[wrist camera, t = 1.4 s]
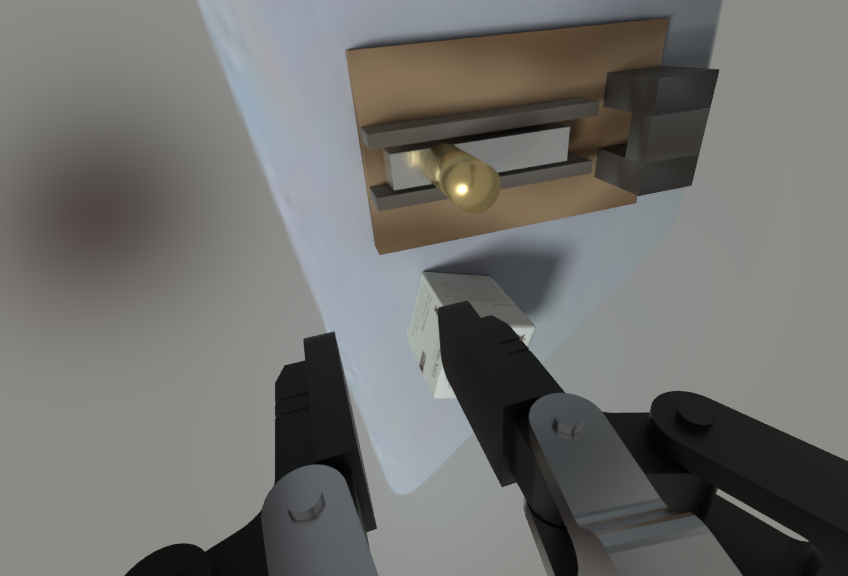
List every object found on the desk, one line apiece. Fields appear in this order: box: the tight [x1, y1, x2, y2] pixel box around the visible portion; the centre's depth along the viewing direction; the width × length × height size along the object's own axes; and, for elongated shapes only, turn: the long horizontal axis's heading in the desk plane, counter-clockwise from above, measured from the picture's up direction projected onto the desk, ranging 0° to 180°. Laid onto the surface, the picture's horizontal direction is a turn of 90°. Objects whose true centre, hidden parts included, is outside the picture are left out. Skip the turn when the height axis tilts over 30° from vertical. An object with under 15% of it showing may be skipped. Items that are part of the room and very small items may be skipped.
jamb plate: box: [345, 18, 719, 255], centre depth 27 cm, size 12×20×6 cm, turn 95°
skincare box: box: [406, 272, 536, 399], centre depth 32 cm, size 6×6×7 cm
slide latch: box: [382, 122, 570, 214], centre depth 24 cm, size 2×11×7 cm, turn 95°
